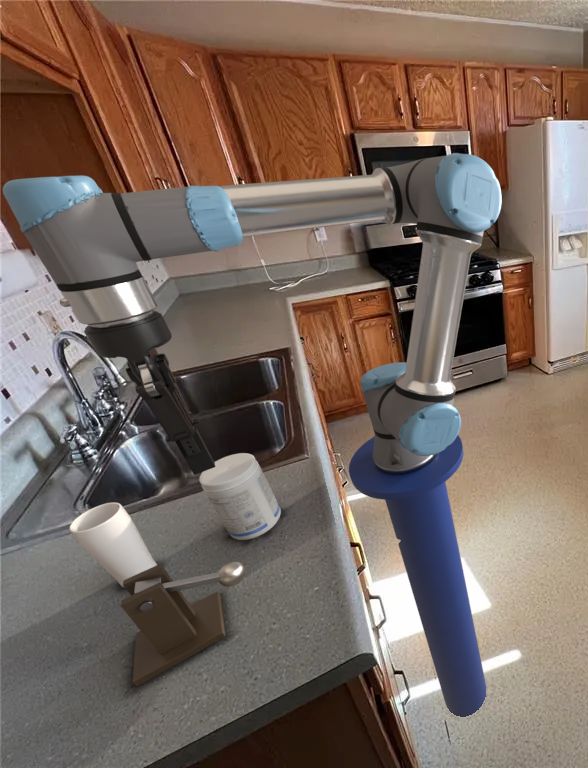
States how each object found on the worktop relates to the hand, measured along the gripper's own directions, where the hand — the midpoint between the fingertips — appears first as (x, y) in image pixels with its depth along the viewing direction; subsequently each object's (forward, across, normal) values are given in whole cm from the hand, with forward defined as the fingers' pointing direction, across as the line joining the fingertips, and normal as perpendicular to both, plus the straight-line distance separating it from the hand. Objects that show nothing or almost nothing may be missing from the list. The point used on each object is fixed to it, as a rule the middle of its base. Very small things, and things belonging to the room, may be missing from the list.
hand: (204, 468), depth 62 cm
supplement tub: (+25, -15, +1) cm, 29 cm away
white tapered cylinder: (+25, -15, -18) cm, 34 cm away
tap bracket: (+24, +4, -12) cm, 27 cm away
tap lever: (+17, +4, -8) cm, 19 cm away
